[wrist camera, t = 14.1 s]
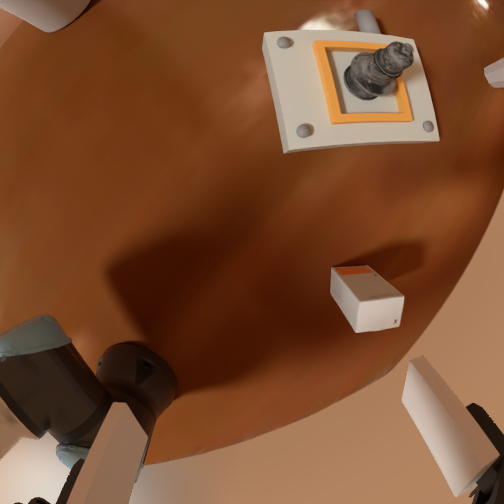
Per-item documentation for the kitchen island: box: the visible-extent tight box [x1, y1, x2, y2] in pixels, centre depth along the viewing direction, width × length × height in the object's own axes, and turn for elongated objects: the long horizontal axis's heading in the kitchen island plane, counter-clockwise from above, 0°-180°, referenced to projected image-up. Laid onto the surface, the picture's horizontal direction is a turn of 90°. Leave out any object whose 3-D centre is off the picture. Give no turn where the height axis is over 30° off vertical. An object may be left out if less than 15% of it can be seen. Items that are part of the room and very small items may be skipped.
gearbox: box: [262, 10, 440, 153], centre depth 29 cm, size 22×21×6 cm
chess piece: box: [343, 41, 414, 101], centre depth 22 cm, size 6×6×12 cm
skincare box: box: [330, 265, 404, 333], centre depth 34 cm, size 6×4×12 cm
